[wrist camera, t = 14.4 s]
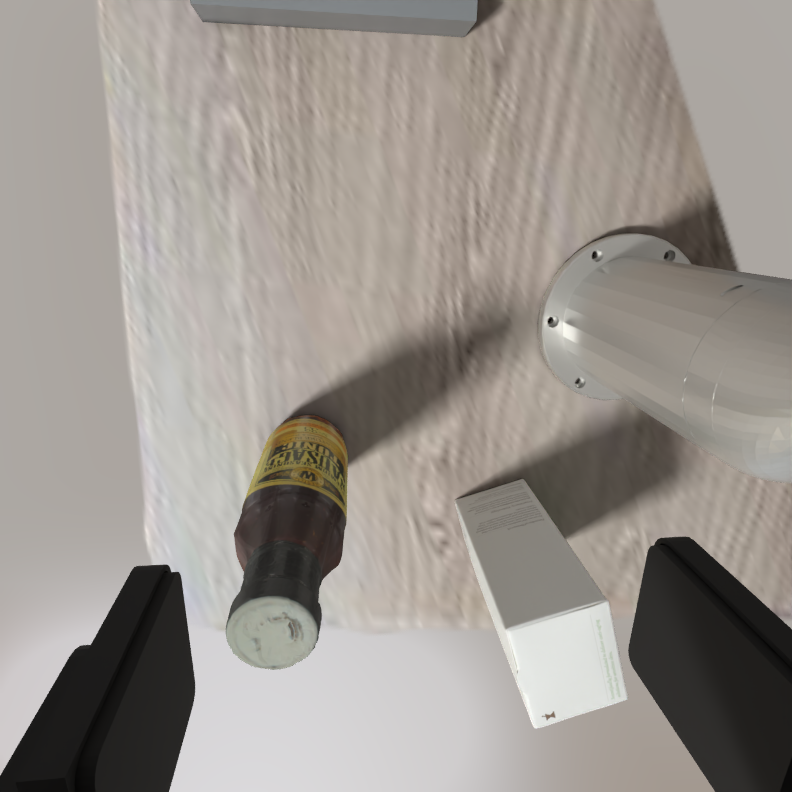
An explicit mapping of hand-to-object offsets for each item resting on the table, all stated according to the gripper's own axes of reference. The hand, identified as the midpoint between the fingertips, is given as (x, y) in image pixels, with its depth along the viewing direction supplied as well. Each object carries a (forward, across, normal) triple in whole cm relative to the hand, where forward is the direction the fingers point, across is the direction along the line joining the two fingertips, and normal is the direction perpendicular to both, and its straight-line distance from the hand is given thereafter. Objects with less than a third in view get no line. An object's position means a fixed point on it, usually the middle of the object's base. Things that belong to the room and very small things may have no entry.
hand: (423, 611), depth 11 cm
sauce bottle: (+31, +4, +10) cm, 32 cm away
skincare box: (+31, -12, +18) cm, 37 cm away
